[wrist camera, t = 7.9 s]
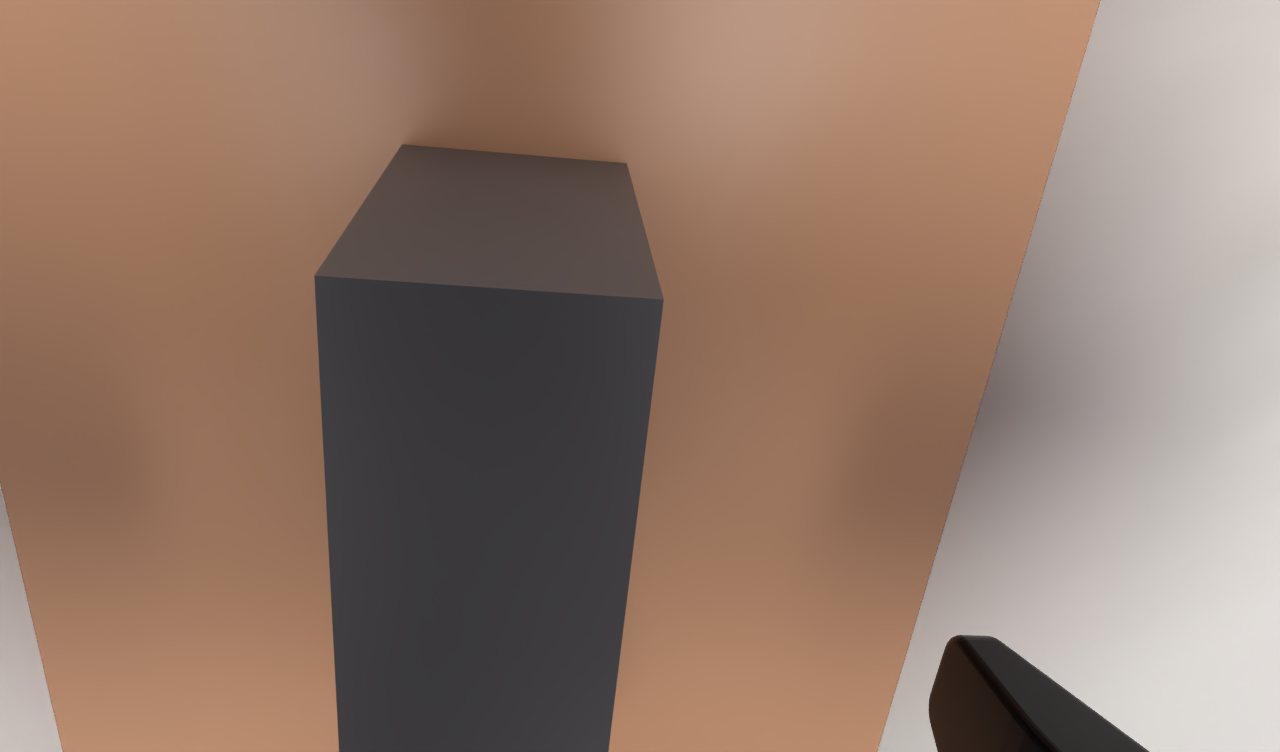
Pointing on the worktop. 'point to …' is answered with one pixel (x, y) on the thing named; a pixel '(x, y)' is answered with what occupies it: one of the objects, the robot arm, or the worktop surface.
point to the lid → (502, 358)
